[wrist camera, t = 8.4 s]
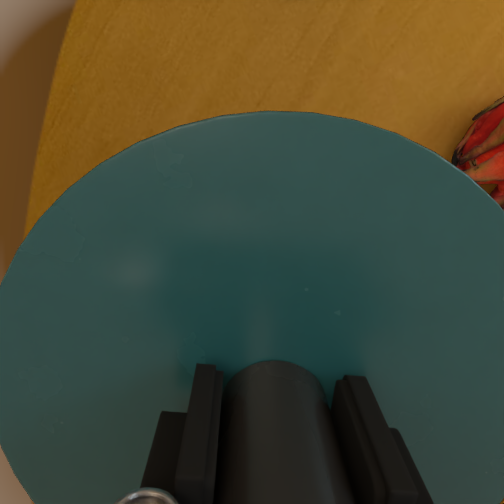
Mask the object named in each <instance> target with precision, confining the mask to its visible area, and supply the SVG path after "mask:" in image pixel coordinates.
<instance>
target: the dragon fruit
mask: <svg viewBox="0 0 504 504" xmlns="http://www.w3.org/2000/svg"><path fill="white" fill-rule="evenodd" d="M476 119H477V120H476ZM472 120H473V121H474V120H476V121H475V122H474V123H473V125H472V126H471V127H470V128H469V130H468V132H467V133H466V135H465V137H463V140H462V141H461V142H460V143H459V144H458V146H457V147H456V149H455V151H454V153H453V156H452V164H453V165H455V166H456V167H457V168H459V169H460V170H462V171H463V172H465V173H466V174H468V175H469V176H470V177H471V178H472V179H473V180H474V181H475V182H476V183H477V184H497V186H496V187H495V188H494V190H493V191H492V192H491V193H490V196H491V197H492V198H493V199H494V200H495V201H497V203H498V204H499V205H500V206H501V208H502V209H503V210H504V96H503V97H502V98H501V99H499V100H497V101H495V103H494V104H493V105H491V106H489V107H487V108H485V109H484V110H483V111H481V112H480V113H478V114H476V115H475V117H474V118H473V119H472ZM462 154H463V156H461V155H462Z"/></svg>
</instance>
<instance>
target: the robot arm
mask: <svg viewBox="0 0 504 504" xmlns="http://www.w3.org/2000/svg"><path fill="white" fill-rule="evenodd" d="M223 373H224V371H220V370H216V365H212V364H200V363H197V364H196V369H195V374H194V379H193V385H192V390H191V395H190V400H189V406H188V411H187V413H183V412H169V411H162V412H161V414H160V417H159V420H158V424H157V428H156V431H155V435H154V439H153V442H152V446H151V450H150V453H149V457H148V460H147V464H146V468H145V471H144V475H143V479H142V482H141V486H140V488H138V489H135V490H132V491H130V492H127V493H125V494H124V495H123V496H121V497H120V498H118V499H117V500H116V501H115V503H114V504H213V497H214V486H215V474H216V462H217V449H218V437H219V424H220V411H221V399H222V386H223ZM331 415H332V418H333V422H334V425H335V429H336V432H337V436H338V439H339V443H340V446H341V450H342V453H343V457H344V460H345V464H346V467H347V471H348V475H349V478H350V482H351V485H352V489H353V492H354V496H355V499H356V503H357V504H434V503H433V501H432V498H431V496H430V494H429V492H428V490H427V488H426V486H425V484H424V482H423V480H422V478H421V475H420V473H419V471H418V469H417V467H416V465H415V463H414V461H413V459H412V457H411V455H410V452H409V450H408V448H407V446H406V444H405V442H404V440H403V438H402V436H401V434H400V432H399V431H398V429H396V428H389V427H388V425H387V422H386V420H385V418H384V416H383V413H382V411H381V409H380V407H379V405H378V402H377V400H376V398H375V396H374V393H373V391H372V389H371V387H370V385H369V382H368V380H367V378H366V377H365V376H354V375H344V377H343V379H342V380H337V381H336V383H335V388H334V394H333V400H332V405H331Z"/></svg>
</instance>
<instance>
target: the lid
mask: <svg viewBox="0 0 504 504" xmlns="http://www.w3.org/2000/svg"><path fill="white" fill-rule="evenodd" d="M197 363H200V364H212V365H216V370H220V371H224V373H223V386H222V399H221V411H220V424H219V437H218V449H217V462H216V474H215V486H214V497H213V504H357V503H356V499H355V496H354V492H353V489H352V485H351V482H350V478H349V475H348V471H347V467H346V464H345V460H344V457H343V453H342V450H341V446H340V443H339V439H338V436H337V432H336V429H335V425H334V422H333V418H332V415H331V405H332V400H333V394H334V388H335V383H336V381H337V380H342V379H343V377H344V375H354V376H365V377H366V378H367V380H368V382H369V385H370V387H371V389H372V391H373V393H374V396H375V398H376V400H377V402H378V405H379V407H380V409H381V411H382V413H383V416H384V418H385V420H386V422H387V425H388V427H389V428H396V429H398V431H399V432H400V434H401V436H402V438H403V440H404V442H405V444H406V446H407V448H408V450H409V452H410V455H411V457H412V459H413V461H414V463H415V465H416V467H417V469H418V471H419V473H420V475H421V478H422V480H423V482H424V484H425V486H426V488H427V490H428V492H429V494H430V496H431V498H432V501H433V503H434V504H500V503H501V501H502V500H503V499H504V210H503V209H502V208H501V206H500V205H499V204H498V203H497V201H495V200H494V199H493V198H492V197H491V196H490V195H489V194H488V193H487V192H486V191H485V190H484V189H483V188H482V187H481V186H480V185H478V184H477V183H476V182H475V181H474V180H473V179H472V178H471V177H470V176H469V175H468V174H466V173H465V172H463V171H462V170H460V169H459V168H457V167H456V166H455V165H453V164H452V163H450V162H449V161H447V160H446V159H444V158H443V157H441V156H440V155H439V154H437V153H436V152H434V151H432V150H430V149H428V148H426V147H424V146H422V145H420V144H418V143H416V142H414V141H412V140H410V139H407V138H405V137H403V136H401V135H399V134H397V133H394V132H391V131H388V130H385V129H382V128H379V127H376V126H373V125H370V124H367V123H363V122H360V121H357V120H353V119H347V118H342V117H336V116H330V115H324V114H319V113H313V112H290V111H258V112H248V113H238V114H228V115H221V116H217V117H213V118H209V119H205V120H201V121H197V122H192V123H188V124H184V125H180V126H177V127H174V128H172V129H169V130H167V131H164V132H162V133H159V134H157V135H154V136H152V137H149V138H147V139H144V140H142V141H139V142H137V143H135V144H133V145H132V146H130V147H128V148H126V149H125V150H123V151H121V152H119V153H118V154H116V155H114V156H112V157H111V158H109V159H107V160H105V161H104V162H102V163H100V164H99V165H97V166H96V167H95V168H94V169H92V170H91V171H90V172H88V173H87V174H86V175H85V176H83V177H82V178H81V179H80V180H78V181H77V182H76V183H74V184H73V185H72V186H71V187H69V188H68V189H67V190H66V191H65V192H64V193H63V194H62V195H61V196H60V197H59V198H58V199H57V200H56V201H55V202H54V203H53V204H52V206H51V207H50V208H49V209H48V210H47V211H46V212H45V213H44V214H43V215H42V216H41V217H40V218H39V220H38V221H37V222H36V224H35V225H34V227H33V228H32V230H31V231H30V232H29V234H28V235H27V237H26V238H25V240H24V241H23V242H22V244H21V245H20V247H19V248H18V250H17V252H16V254H15V256H14V258H13V260H12V262H11V264H10V266H9V268H8V270H7V272H6V274H5V276H4V278H3V280H2V282H1V285H0V445H1V448H2V450H3V452H4V454H5V456H6V458H7V460H8V462H9V464H10V466H11V468H12V470H13V472H14V474H15V476H16V477H17V478H18V480H19V482H20V483H21V485H22V486H23V488H24V489H25V491H26V492H27V494H28V495H29V497H30V498H31V500H32V501H33V502H34V503H35V504H114V503H115V501H116V500H117V499H118V498H120V497H121V496H123V495H124V494H125V493H127V492H130V491H132V490H135V489H138V488H140V486H141V482H142V479H143V475H144V471H145V468H146V464H147V460H148V457H149V453H150V450H151V446H152V442H153V439H154V435H155V431H156V428H157V424H158V420H159V417H160V414H161V412H162V411H169V412H183V413H187V411H188V406H189V400H190V395H191V390H192V385H193V379H194V374H195V369H196V364H197Z"/></svg>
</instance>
